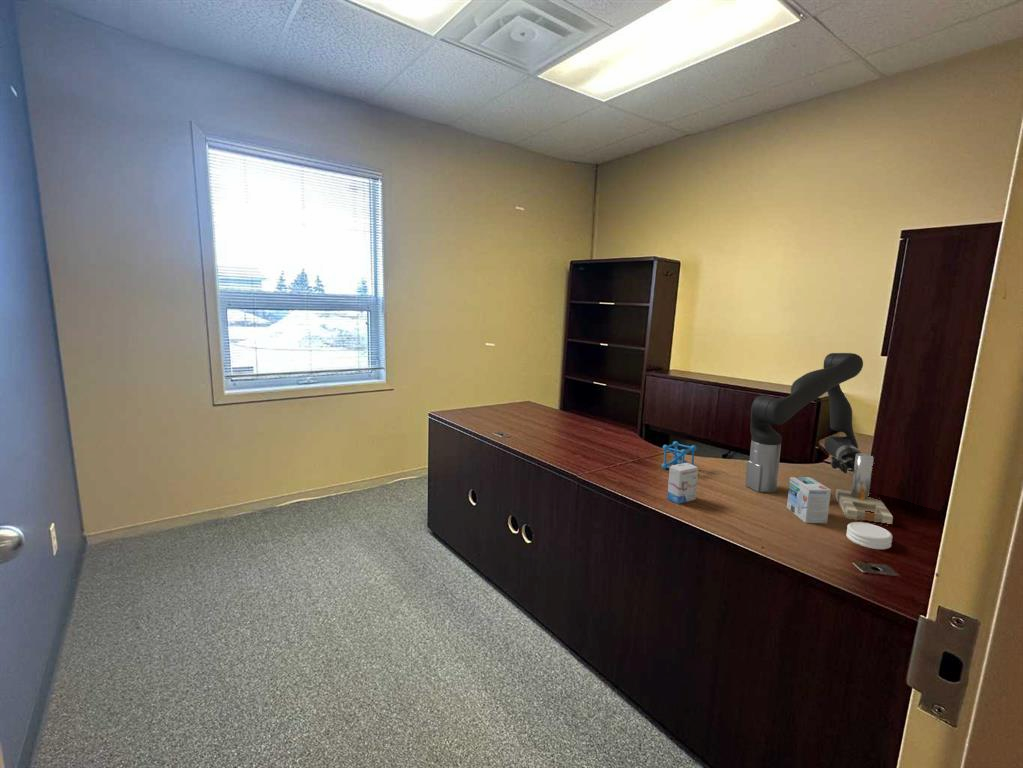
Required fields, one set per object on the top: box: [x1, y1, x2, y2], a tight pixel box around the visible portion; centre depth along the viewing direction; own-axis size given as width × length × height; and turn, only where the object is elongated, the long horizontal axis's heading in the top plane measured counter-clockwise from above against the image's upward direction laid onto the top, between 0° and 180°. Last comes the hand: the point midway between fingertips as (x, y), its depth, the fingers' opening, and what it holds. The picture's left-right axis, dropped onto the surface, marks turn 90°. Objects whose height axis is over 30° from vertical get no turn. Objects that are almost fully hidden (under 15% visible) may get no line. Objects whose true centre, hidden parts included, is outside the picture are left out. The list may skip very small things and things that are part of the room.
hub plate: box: [835, 488, 894, 525], centre depth 147 cm, size 18×11×3 cm, turn 154°
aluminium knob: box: [850, 452, 874, 501], centre depth 149 cm, size 6×5×14 cm
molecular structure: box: [661, 440, 697, 470], centre depth 185 cm, size 10×10×10 cm
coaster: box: [845, 521, 893, 550], centre depth 129 cm, size 10×10×4 cm
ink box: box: [666, 462, 699, 505], centre depth 155 cm, size 9×5×12 cm, turn 117°
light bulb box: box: [786, 476, 832, 524], centre depth 143 cm, size 11×7×11 cm, turn 178°
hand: (861, 472), depth 150 cm, fingers open, 8 cm apart
